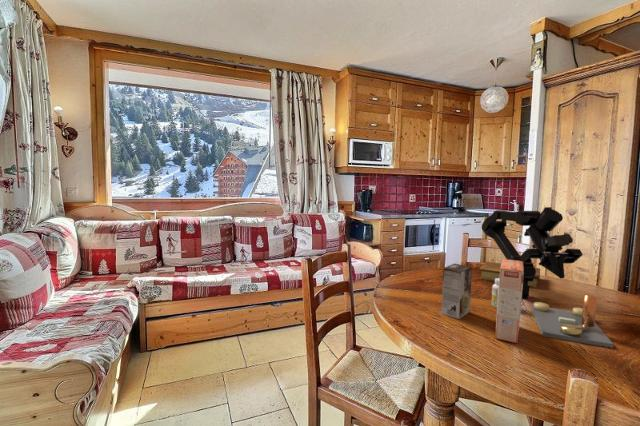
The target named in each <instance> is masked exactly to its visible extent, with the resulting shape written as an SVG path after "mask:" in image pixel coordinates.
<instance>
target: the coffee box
mask: <svg viewBox="0 0 640 426" xmlns="http://www.w3.org/2000/svg"><path fill="white" fill-rule="evenodd" d="M472 268H473V267H472V266H467V265H464V264H459V263H452V264H450V265H447V266H445V267H443V273H442V298H441V315H445V316H448V317H451V318H453V319H458V320H460V319H462V318H463V317H464V316H466V315H467V314H468V313H470V312H471V295H472V294H471V293H472V273H473V272H472V270H473V269H472Z"/></svg>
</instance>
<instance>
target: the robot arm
mask: <svg viewBox="0 0 640 426" xmlns="http://www.w3.org/2000/svg"><path fill="white" fill-rule="evenodd" d="M542 209H543V210H542V211H539V210H518V211H512V210H511V211H508V210H506V209H502V210H501V209H500V210H499V209H496V210H494V211H493V213H492V214H491V215H489V216H488V217H486V218H485V219H484V221H483V222H482V224H481V230H482V232H483V233H484V234H485V235H486V236H487V237H489V238H491V239H493V241H494V242H495V244H496V245H497V247H498V248H499V250H500V251H501V253H502V255H503V256H504V258H505V259H506V260H516V261H522V262H523V272H524V274H523V289H522V299H526V300H527V299H529V296H530V289H531V288H530V286H529V284H528V282H529V281H530V282H533V279H534V276H535V274H536V269H535V268H536V267H535V266H534V263H533V260H532V259H534V260H539V262H538V266H542V267H543V268H545V269H546V270H548V271H550V272H551V273H552V274H553V275H555V276H557V277H558V278H559V279H564V278H565V276H566V275H565V268H564V266H565V265H564V264H567V265H568V264H574V263H575V262H577V261H578V260H579V259H580V258H581V257H582V256H583V255H584V254H583V252H582V250H581V249H579V248H566V249H565V250H564V251H563V252H559V251H561V250H562V249H563V247H564V246H569V245H570V244H572V243H573V242H574V240H573V237H572V236H571V234H569V233H564V234H557V235H556V234H555V235H551V236H550V233H549V232H552V231H553V230H554V229H555V228H556V227H557V226H558V225H559V224H560V223H561V222H562V221H563V219H564V216H563V215H562V213H560V212H559V211H557V210H555V209H553V208H552V207H550V206H545V207H544V208H542ZM508 221H511V222H515V224H517V225H519V226H521V227H523V226H524V227H526V226H527V227H528V228H526V229H525V232H524V234H523V235H524V237H529V238H530V240H531V241H532V243H533V244H532V245H531V247H532V248H526V249H525V250H524V252H522V254H520V253H519V252H518V250H517V249H516V248H515V247H514V244H512V242H511V241H510V239H509V238H508V237H507V235H506V234H505V231H506V227H507V225H508V224H507V222H508Z"/></svg>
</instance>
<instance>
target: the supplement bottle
mask: <svg viewBox="0 0 640 426" xmlns="http://www.w3.org/2000/svg"><path fill="white" fill-rule="evenodd" d="M498 290H499V278H496V279H495V282H494V284H492V289H491V305H492V306H493V307H495V308H497V305H498Z"/></svg>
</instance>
